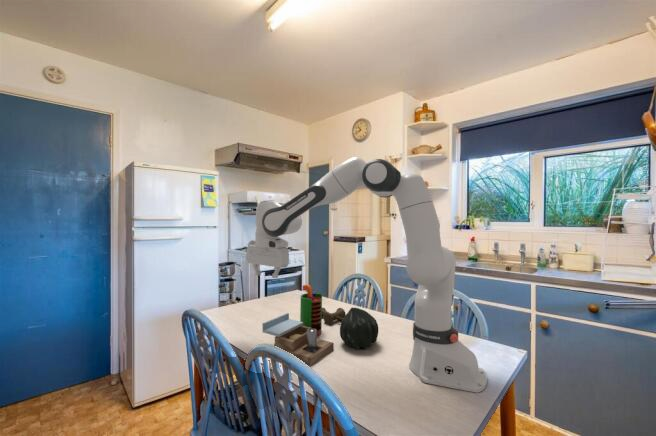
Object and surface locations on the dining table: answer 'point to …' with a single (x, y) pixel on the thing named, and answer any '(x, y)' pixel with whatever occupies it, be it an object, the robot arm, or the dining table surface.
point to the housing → (303, 345)
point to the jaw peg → (312, 340)
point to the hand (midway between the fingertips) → (266, 276)
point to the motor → (311, 309)
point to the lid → (280, 325)
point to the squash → (358, 329)
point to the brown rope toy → (333, 315)
